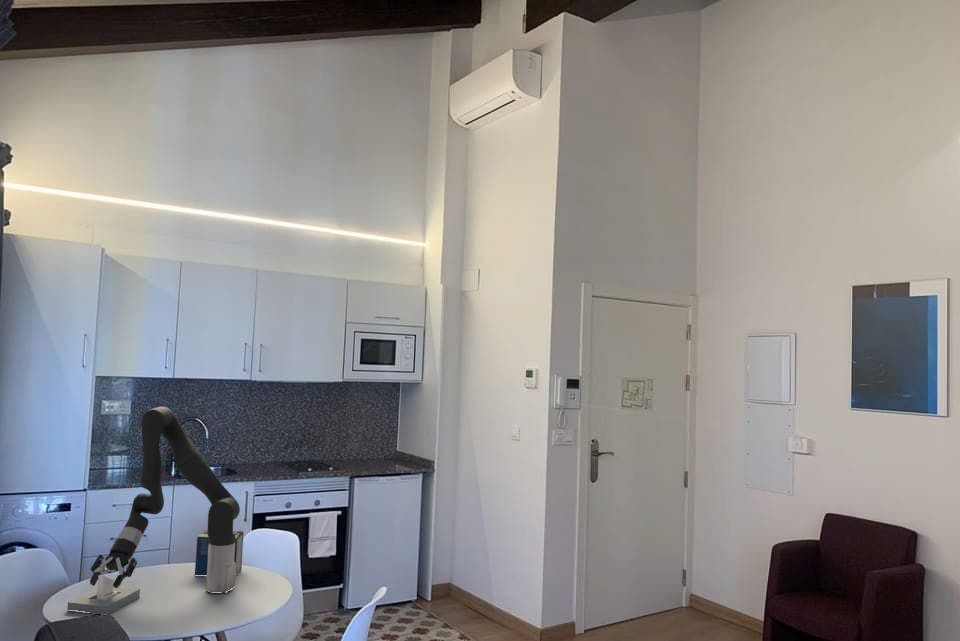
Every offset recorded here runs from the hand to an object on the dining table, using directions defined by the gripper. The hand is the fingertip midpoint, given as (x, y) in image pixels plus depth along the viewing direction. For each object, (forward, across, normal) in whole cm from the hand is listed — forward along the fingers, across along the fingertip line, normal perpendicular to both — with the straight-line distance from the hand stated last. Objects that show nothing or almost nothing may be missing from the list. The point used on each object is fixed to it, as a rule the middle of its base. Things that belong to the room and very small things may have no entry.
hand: (103, 585), depth 246 cm
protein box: (-26, +19, +36) cm, 48 cm away
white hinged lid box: (+4, +1, +5) cm, 7 cm away
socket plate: (+4, 0, +6) cm, 7 cm away
